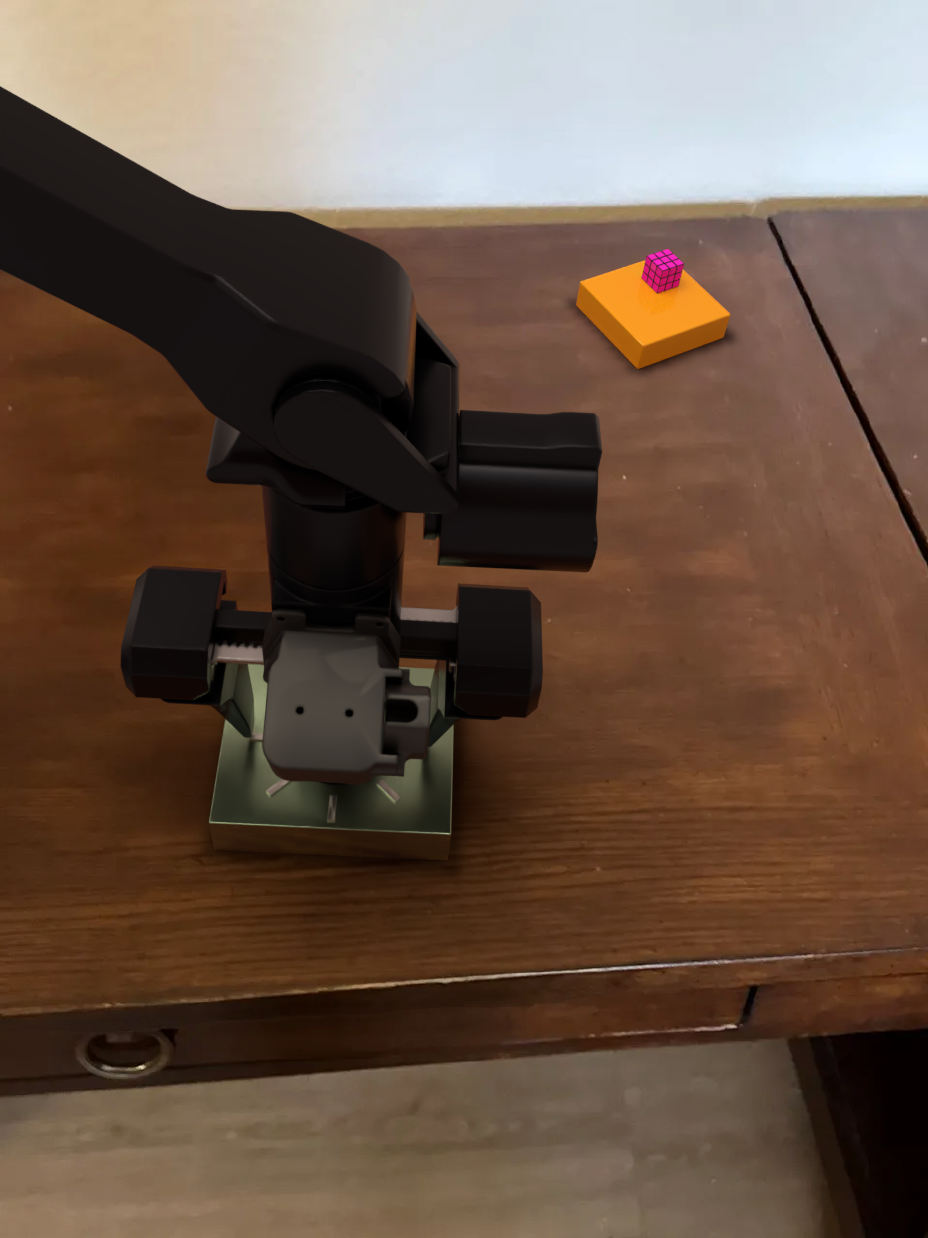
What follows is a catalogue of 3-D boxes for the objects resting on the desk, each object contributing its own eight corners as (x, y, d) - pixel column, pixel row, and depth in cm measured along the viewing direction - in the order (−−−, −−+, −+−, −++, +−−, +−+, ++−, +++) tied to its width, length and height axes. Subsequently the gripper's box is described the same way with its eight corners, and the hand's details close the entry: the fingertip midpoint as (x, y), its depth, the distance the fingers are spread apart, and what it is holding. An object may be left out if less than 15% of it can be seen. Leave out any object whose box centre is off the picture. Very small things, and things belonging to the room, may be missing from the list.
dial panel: (213, 850, 62) (207, 821, 60) (238, 688, 68) (234, 655, 66) (447, 861, 63) (451, 833, 60) (451, 699, 69) (455, 667, 66)
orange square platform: (724, 338, 90) (738, 291, 86) (637, 370, 87) (648, 323, 83) (660, 276, 94) (671, 229, 90) (575, 305, 91) (583, 257, 87)
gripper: (65, 686, 45) (127, 870, 57) (567, 713, 46) (520, 888, 58) (121, 468, 51) (165, 675, 64) (557, 495, 52) (517, 694, 65)
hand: (338, 734), depth 62 cm, fingers open, 9 cm apart
